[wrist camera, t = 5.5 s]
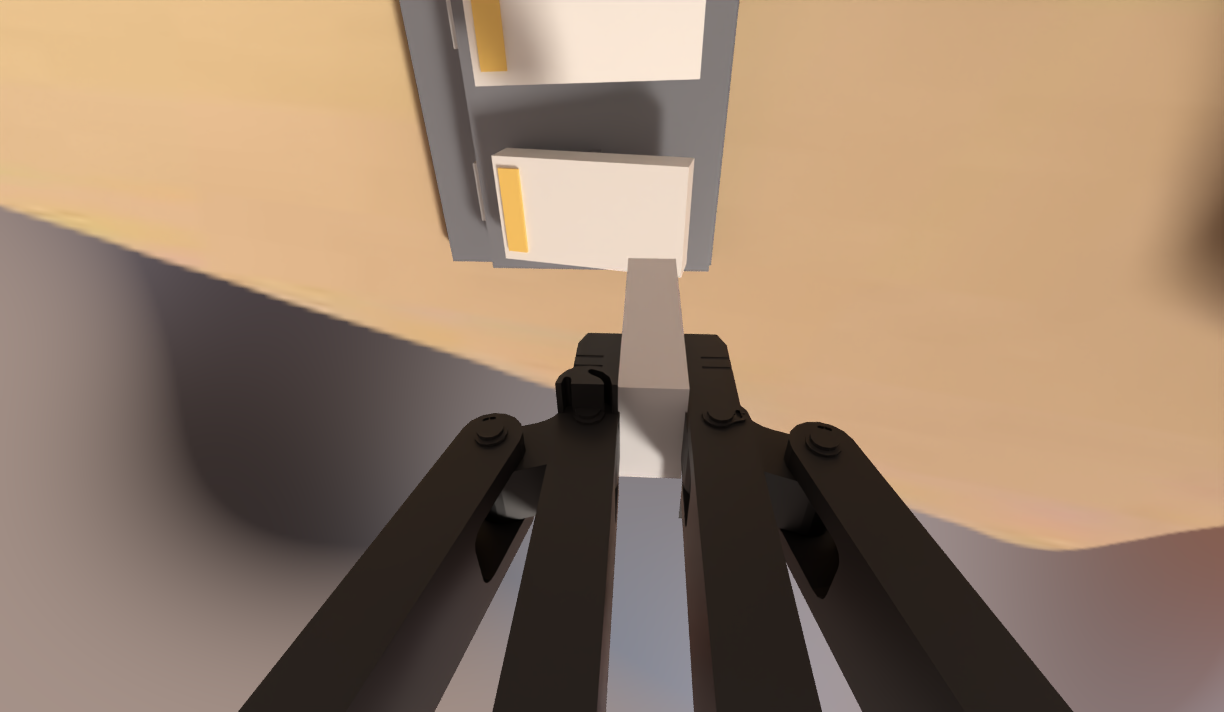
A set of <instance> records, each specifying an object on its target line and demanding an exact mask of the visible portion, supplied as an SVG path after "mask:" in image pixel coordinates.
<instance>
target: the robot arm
mask: <svg viewBox="0 0 1224 712" xmlns="http://www.w3.org/2000/svg"><path fill="white" fill-rule="evenodd" d="M731 368H732V367H731V362H730V360H729V354H728V349H727V345H726V344H725V343H724V342H723V341H722V340H721V339H720V338H719V337H718V336H717V335H710V334H684V331H683V322H682V312H681V303H680V293H679V284H678V274H677V265H676V259H657V258H628V268H627V280H626V292H625V304H624V316H623V329H622V334H610V333H588V334H587V335H586V336H585V337H584V338H583V339H582V340H581V341H580V342H579V343H578V348H577V352H576V357H575V362H574V367H573V368H572V369H569V370H567V371H565V372H564V373H563V374H561V375H560V376H559V377H558V379H557V381H556V383H555V386H556V397H557V407H558V414H556V415H555V416H554V417H552V418H550V419H548V420H546V421H542V422H539V423H535V424H531V425H525V426H521V423H520V422H519V421H518V420H517V419H516V418H515V417H512V416H510V415H507V414H498V413H493V414H488V415H483V416H480V417H478V418H476V419H474V420H472V421H470V422H469V423H468V424H467V425H466V426H465V427H464V428H463V429H462V430H461V432H460V433H459V434H458V435H457V436H456V438H455V439H454V440H453V441H452V443H451V444H450V445H449V447H448V448H447V449H446V450H445V452H444V453H443V454H442V455H441V457H440V458H439V459H438V460H437V462H436V463H435V464H434V466H433V467H432V468H431V469H430V470H429V472H428V473H427V474H426V476H425V477H424V478H423V479H422V481H421V482H420V483H419V484H418V486H417V487H416V488H415V490H414V491H413V492H412V493H411V494H410V496H409V497H408V498H407V500H406V501H405V502H404V503H403V505H402V506H401V507H400V509H399V510H398V511H397V512H396V513H395V515H394V516H393V517H392V518H391V520H390V521H389V522H388V523H387V525H386V526H385V527H384V528H383V530H382V531H381V532H380V534H379V535H378V536H377V538H376V539H375V540H374V541H373V542H372V544H371V545H370V546H369V547H368V549H367V550H366V551H365V553H364V554H363V555H362V556H361V558H360V559H359V560H358V561H357V563H356V564H355V565H354V566H353V568H352V569H351V570H350V571H349V573H348V574H347V575H346V576H345V578H344V579H343V580H342V581H341V583H340V584H339V585H338V587H337V588H336V589H335V590H334V592H333V593H332V594H331V595H330V597H329V598H328V599H327V601H326V602H325V603H324V604H323V605H322V607H321V608H320V609H319V610H318V612H317V613H316V614H315V616H314V617H313V618H312V619H311V621H310V622H309V623H308V624H307V626H306V627H305V628H304V629H303V631H302V632H301V633H300V634H299V636H298V637H297V638H296V640H295V641H294V642H293V643H292V645H291V646H290V647H289V648H288V650H287V651H286V652H285V653H284V655H283V656H282V657H281V658H280V660H279V661H278V662H277V663H276V665H275V666H274V667H273V668H272V670H271V671H270V672H269V674H268V675H267V676H266V677H265V679H264V680H263V681H262V682H261V684H260V685H259V686H258V687H257V689H256V690H255V691H254V692H253V694H252V695H251V696H250V697H249V699H248V700H247V701H246V703H245V704H244V705H243V706H242V708H241V709H240V710H239V712H435V709H436V708H437V706H438V704H439V702H440V700H441V698H442V696H443V694H444V692H445V690H446V688H447V686H448V684H449V683H450V680H451V678H452V677H453V675H454V673H455V671H456V669H457V667H458V665H459V663H460V661H461V659H462V657H463V655H464V653H465V651H466V650H467V648H468V646H469V644H470V641H471V640H472V638H473V636H474V634H475V632H476V630H477V628H478V626H479V624H480V622H481V620H482V619H483V617H484V615H485V613H486V611H487V609H488V607H489V605H490V603H491V601H492V599H493V597H494V595H495V593H496V591H497V590H498V588H499V586H500V584H501V582H502V580H503V578H504V576H505V574H506V572H507V570H508V568H509V566H510V564H511V562H512V560H513V558H514V557H515V555H516V553H517V551H518V549H519V547H520V545H521V543H522V541H523V539H524V537H525V535H526V533H527V531H528V529H529V528H530V525H531V524H532V522H533V519H534V516H535V520H534V525H533V529H532V534H531V539H530V543H529V548H528V553H527V557H526V561H525V566H524V570H523V575H522V580H521V584H520V589H519V593H518V598H517V602H516V607H515V611H514V616H513V621H512V625H511V630H510V634H509V639H508V644H507V648H506V652H505V657H504V662H503V666H502V671H501V675H500V680H499V685H498V689H497V693H496V698H495V703H494V708H493V712H606V700H607V699H606V698H607V682H608V665H609V648H610V632H611V614H612V598H613V580H614V564H615V547H616V530H617V513H618V496H619V490H618V489H619V486H618V485H619V483H618V481H619V476H630V477H656V478H657V477H658V478H681V471H682V491H681V501H680V511H679V518H682V523H683V539H684V556H685V572H686V589H687V604H688V605H687V606H688V622H689V637H690V653H691V671H692V688H693V704H694V712H822V710H821V706H820V701H819V697H818V693H817V689H816V685H815V681H814V677H813V673H812V668H811V665H810V660H809V656H808V652H807V648H806V644H805V640H804V635H803V631H802V627H801V623H800V619H799V615H798V611H797V607H796V602H795V598H794V594H793V590H792V586H791V582H790V578H789V573H788V569H787V565H788V567H789V569H790V571H791V573H792V575H793V577H794V579H795V580H796V583H797V584H798V586H799V588H800V590H801V592H802V594H803V596H804V598H805V600H806V602H807V604H808V606H809V608H810V610H811V612H812V613H813V616H814V618H815V620H816V622H817V623H818V626H819V628H820V630H821V632H822V633H823V636H824V637H825V639H826V641H827V643H828V645H829V647H830V649H831V651H832V653H833V655H834V657H835V659H836V661H837V663H838V665H839V667H840V669H841V671H842V673H843V675H844V677H845V679H846V681H847V682H848V684H849V687H850V688H851V690H852V692H853V694H854V696H855V698H856V700H857V702H858V704H859V706H860V708H861V710H862V712H1073V711H1072V710H1071V708H1070V707H1069V706H1068V705H1067V703H1066V702H1065V701H1064V700H1063V698H1062V697H1061V696H1060V695H1059V694H1058V692H1057V691H1056V690H1055V689H1054V687H1053V686H1052V685H1051V684H1050V683H1049V681H1048V680H1047V679H1046V678H1045V676H1044V675H1043V674H1042V673H1041V671H1040V670H1039V669H1038V668H1037V666H1036V665H1035V664H1034V663H1033V661H1032V660H1031V659H1030V658H1029V656H1028V655H1027V654H1026V653H1025V652H1024V650H1023V649H1022V648H1021V647H1020V646H1019V644H1018V643H1017V642H1016V640H1015V639H1014V638H1013V637H1012V636H1011V634H1010V633H1009V632H1008V631H1007V629H1006V628H1005V627H1004V626H1003V625H1002V623H1001V622H1000V621H999V620H998V618H997V617H996V616H995V615H994V613H993V612H992V611H991V610H990V608H989V607H988V606H987V605H986V603H985V602H984V601H983V600H982V598H981V597H980V596H979V595H978V593H977V592H976V591H975V590H974V589H973V588H972V586H971V585H970V584H969V582H968V581H967V580H966V579H965V578H964V576H963V575H962V574H961V572H960V571H959V570H958V569H957V568H956V566H955V565H954V564H953V563H952V561H951V560H950V559H949V558H948V556H947V555H946V554H945V553H944V551H943V550H942V549H941V548H940V547H939V545H938V544H937V543H936V542H935V540H934V539H933V538H932V537H931V535H930V534H929V533H928V532H927V530H926V529H925V528H924V527H923V526H922V524H921V523H920V522H919V521H918V519H917V518H916V517H915V516H914V514H913V513H912V512H911V511H910V509H909V508H908V507H907V506H906V504H905V503H904V502H903V501H902V500H901V498H900V497H899V496H898V495H897V493H896V492H895V491H894V490H893V488H892V487H891V486H890V485H889V483H888V482H887V481H886V480H885V479H884V477H883V476H882V475H881V474H880V472H879V471H878V470H877V469H876V467H875V466H874V465H873V464H872V462H871V461H870V460H869V459H868V458H867V456H866V455H865V454H864V453H863V451H862V450H861V449H860V448H859V446H858V445H857V444H856V443H855V441H854V440H853V439H852V438H851V437H850V436H848V435H847V434H846V433H845V432H844V431H842V430H840V429H838V428H836V427H834V426H832V425H829V424H825V423H821V422H805V423H802V424H799V425H797V426H795V427H794V428H793V429H792V430H791V431H790V434H787V433H783V432H779V431H775V430H772V429H769V428H766V427H763V426H761V425H759V424H757V423H755V422H754V421H752V420H751V418H750V416H749V414H748V412H747V410H745V409H744V408H743V407H742V406H740V402H739V397H738V393H737V389H736V384H735V380H734V376H733V371H732V369H731ZM786 563H787V565H786Z"/></svg>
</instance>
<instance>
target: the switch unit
mask: <svg viewBox="0 0 1224 712" xmlns="http://www.w3.org/2000/svg"><path fill="white" fill-rule="evenodd" d="M399 2H400V7H401V12H402V16H403V21H404V26H405V31H406V36H407V40H408V45H409V50H410V55H411V60H412V64H413V69H414V74H415V79H416V84H417V88H418V93H419V98H420V103H421V108H422V112H423V117H424V122H425V127H426V132H427V136H428V141H429V146H430V151H431V156H432V160H433V165H434V170H435V175H436V180H437V184H438V189H439V194H440V199H441V204H442V208H443V213H444V218H445V223H446V227H447V232H448V237H449V242H450V247H451V251H452V256H453V261H478V262H493V268H538V269H596V270H608V269H599V268H590V267H581V266H572V265H563V264H554V263H545V262H536V261H527V260H517V259H508V258H506V254H505V247H504V240H503V233H502V226H501V220H500V213H499V206H498V199H497V192H496V185H495V178H494V171H493V164H492V157H491V156H492V155H494V154H495V153H497V152H499V151H501V150H503V149H505V148H522V149H540V150H558V151H577V152H595V153H614V154H632V155H650V156H669V157H687V158H694V171H693V184H692V197H691V210H690V223H689V236H688V249H687V262H686V266H685V269H684V271H709V265H711V258H712V249H713V240H714V230H715V221H716V212H717V203H718V193H719V184H720V175H721V165H722V156H723V147H724V137H725V128H726V119H727V109H728V100H729V91H730V81H731V72H732V63H733V54H734V44H735V35H736V26H737V16H738V7H739V0H706V7H705V20H704V33H703V46H702V59H701V72H700V79H690V80H659V81H628V82H598V83H567V84H536V85H505V86H475V81H474V74H473V67H472V61H471V54H470V47H469V41H468V34H467V27H466V21H465V14H464V7H463V1H462V0H399Z"/></svg>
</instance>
